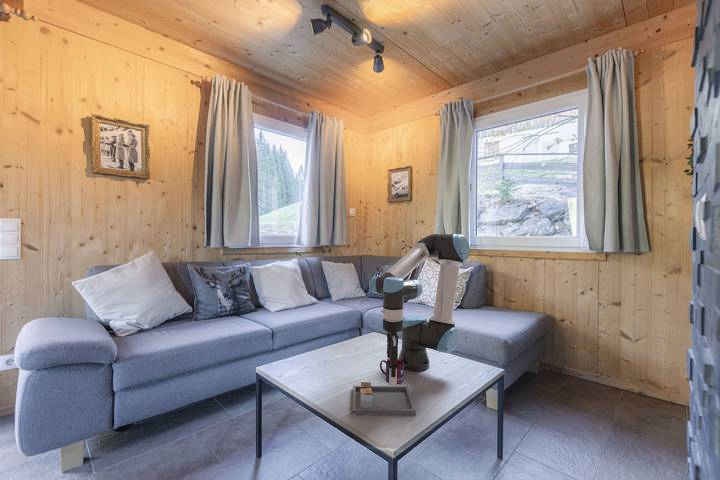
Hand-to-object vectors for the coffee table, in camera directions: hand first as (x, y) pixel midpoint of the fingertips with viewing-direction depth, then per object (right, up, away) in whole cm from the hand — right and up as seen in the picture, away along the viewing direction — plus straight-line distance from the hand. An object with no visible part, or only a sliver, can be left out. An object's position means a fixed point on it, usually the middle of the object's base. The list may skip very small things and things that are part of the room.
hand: (391, 379), depth 123 cm
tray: (-4, -9, 0) cm, 10 cm away
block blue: (-9, -8, -5) cm, 14 cm away
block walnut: (-10, -8, +5) cm, 14 cm away
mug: (0, 0, +1) cm, 1 cm away
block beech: (-10, -8, 0) cm, 13 cm away
